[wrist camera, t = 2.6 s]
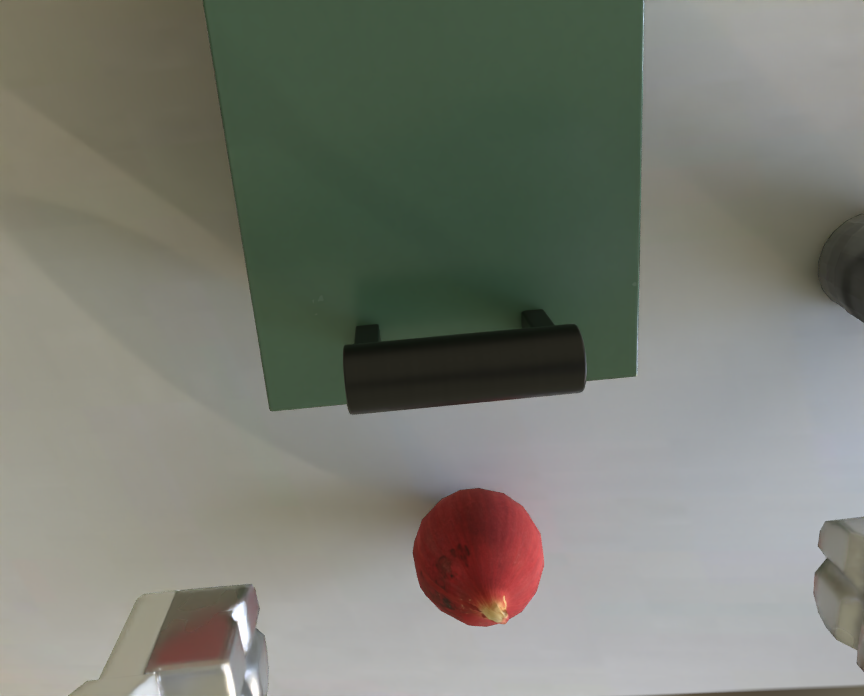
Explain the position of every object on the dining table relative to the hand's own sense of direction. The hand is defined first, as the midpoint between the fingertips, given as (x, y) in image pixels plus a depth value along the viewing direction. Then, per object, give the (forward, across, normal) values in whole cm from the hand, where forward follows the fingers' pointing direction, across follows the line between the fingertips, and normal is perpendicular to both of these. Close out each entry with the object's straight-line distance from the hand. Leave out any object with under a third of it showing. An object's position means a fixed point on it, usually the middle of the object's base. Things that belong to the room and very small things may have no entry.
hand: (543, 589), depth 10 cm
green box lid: (+13, 0, -6) cm, 15 cm away
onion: (+23, -1, +13) cm, 27 cm away
